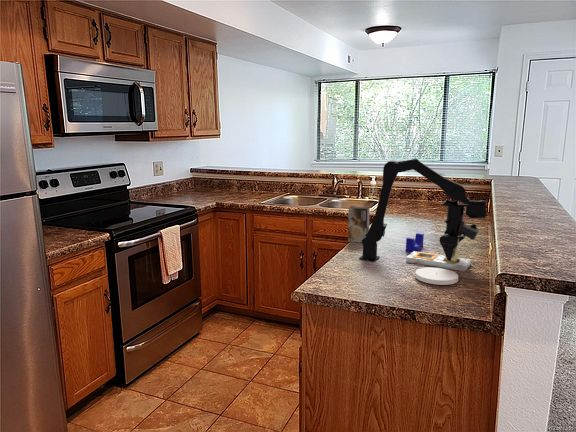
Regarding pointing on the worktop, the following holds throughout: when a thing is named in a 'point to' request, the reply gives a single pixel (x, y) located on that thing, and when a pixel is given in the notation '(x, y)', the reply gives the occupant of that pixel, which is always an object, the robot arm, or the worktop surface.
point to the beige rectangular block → (454, 255)
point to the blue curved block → (414, 243)
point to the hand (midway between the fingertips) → (451, 257)
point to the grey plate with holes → (437, 261)
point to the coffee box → (358, 223)
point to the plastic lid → (436, 276)
